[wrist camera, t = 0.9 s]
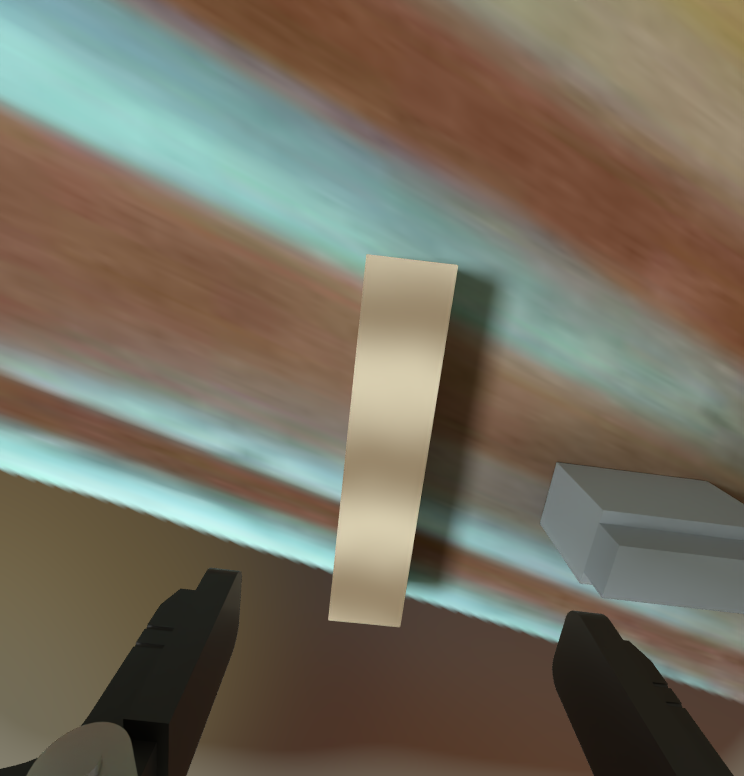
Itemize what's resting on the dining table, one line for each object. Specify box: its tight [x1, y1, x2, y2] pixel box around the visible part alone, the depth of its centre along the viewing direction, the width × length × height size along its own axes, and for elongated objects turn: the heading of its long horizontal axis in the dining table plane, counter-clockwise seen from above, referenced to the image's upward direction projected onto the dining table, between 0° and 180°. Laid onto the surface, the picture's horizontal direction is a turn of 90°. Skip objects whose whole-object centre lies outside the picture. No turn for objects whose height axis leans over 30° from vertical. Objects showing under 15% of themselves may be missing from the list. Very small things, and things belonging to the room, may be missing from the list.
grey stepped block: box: [540, 462, 744, 614], centre depth 19 cm, size 4×8×6 cm, turn 82°
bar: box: [328, 254, 458, 627], centre depth 20 cm, size 17×4×4 cm, turn 174°
